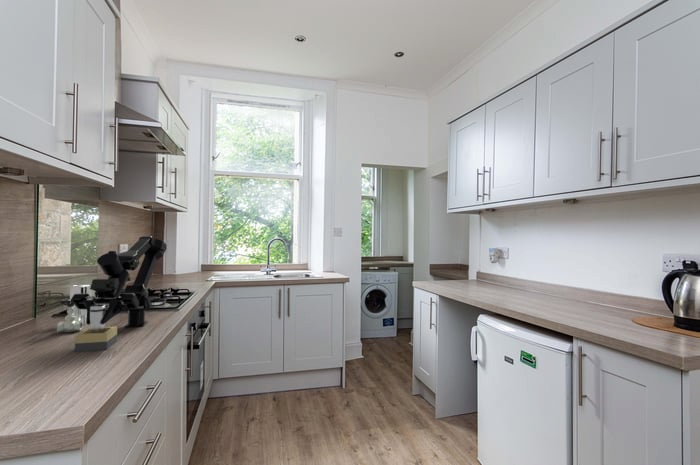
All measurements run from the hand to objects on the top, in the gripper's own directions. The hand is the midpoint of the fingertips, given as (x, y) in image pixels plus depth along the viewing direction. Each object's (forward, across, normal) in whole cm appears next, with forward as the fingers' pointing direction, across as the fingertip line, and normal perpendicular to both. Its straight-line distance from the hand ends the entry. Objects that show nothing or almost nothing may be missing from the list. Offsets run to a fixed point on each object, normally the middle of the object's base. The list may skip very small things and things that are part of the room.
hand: (94, 323), depth 107 cm
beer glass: (-17, -23, +28) cm, 40 cm away
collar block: (+4, 0, +6) cm, 8 cm away
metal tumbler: (+4, 0, +6) cm, 7 cm away
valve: (-8, -19, +19) cm, 28 cm away
